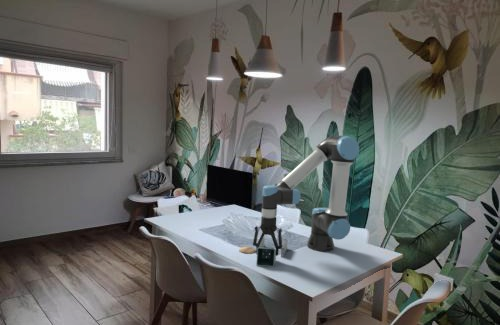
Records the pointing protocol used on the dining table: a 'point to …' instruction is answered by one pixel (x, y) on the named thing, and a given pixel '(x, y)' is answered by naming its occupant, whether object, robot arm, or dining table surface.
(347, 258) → the dining table surface
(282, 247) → the grey holder
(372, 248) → the dining table surface
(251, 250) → the cork mat
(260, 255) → the flower pot
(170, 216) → the dining table surface
